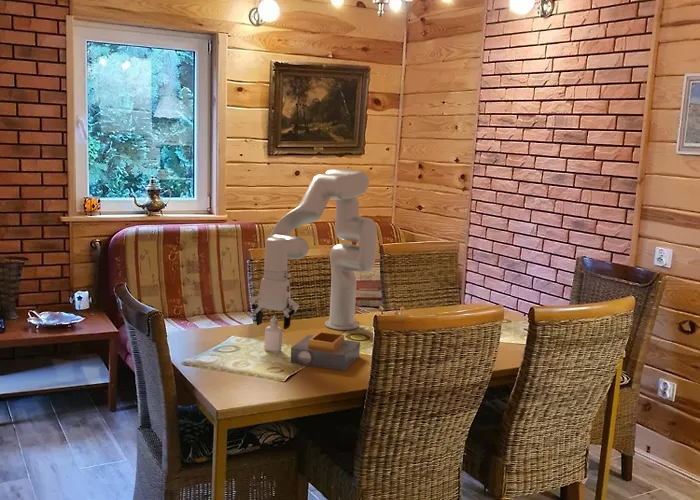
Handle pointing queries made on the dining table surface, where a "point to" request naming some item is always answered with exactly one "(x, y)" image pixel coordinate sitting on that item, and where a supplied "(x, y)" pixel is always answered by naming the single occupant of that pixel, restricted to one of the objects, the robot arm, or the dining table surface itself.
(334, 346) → the grey scale with tray
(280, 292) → the robot arm
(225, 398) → the dining table surface
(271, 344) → the eye dropper bottle
